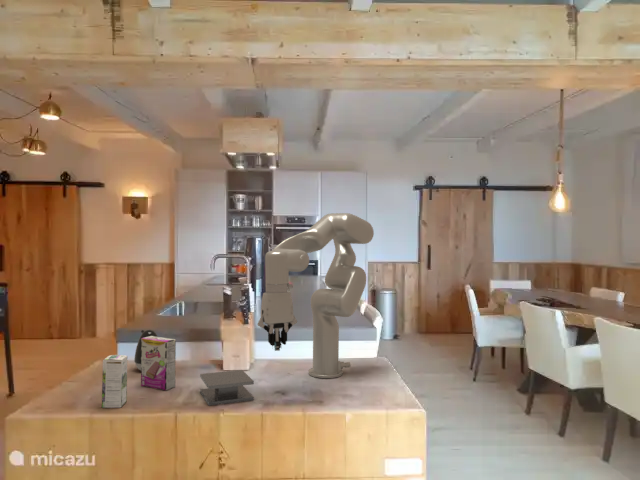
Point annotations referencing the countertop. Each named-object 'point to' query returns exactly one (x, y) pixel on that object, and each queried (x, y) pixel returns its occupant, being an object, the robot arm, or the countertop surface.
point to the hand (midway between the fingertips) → (277, 343)
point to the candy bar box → (158, 362)
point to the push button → (277, 336)
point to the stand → (226, 387)
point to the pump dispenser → (138, 348)
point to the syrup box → (114, 381)
